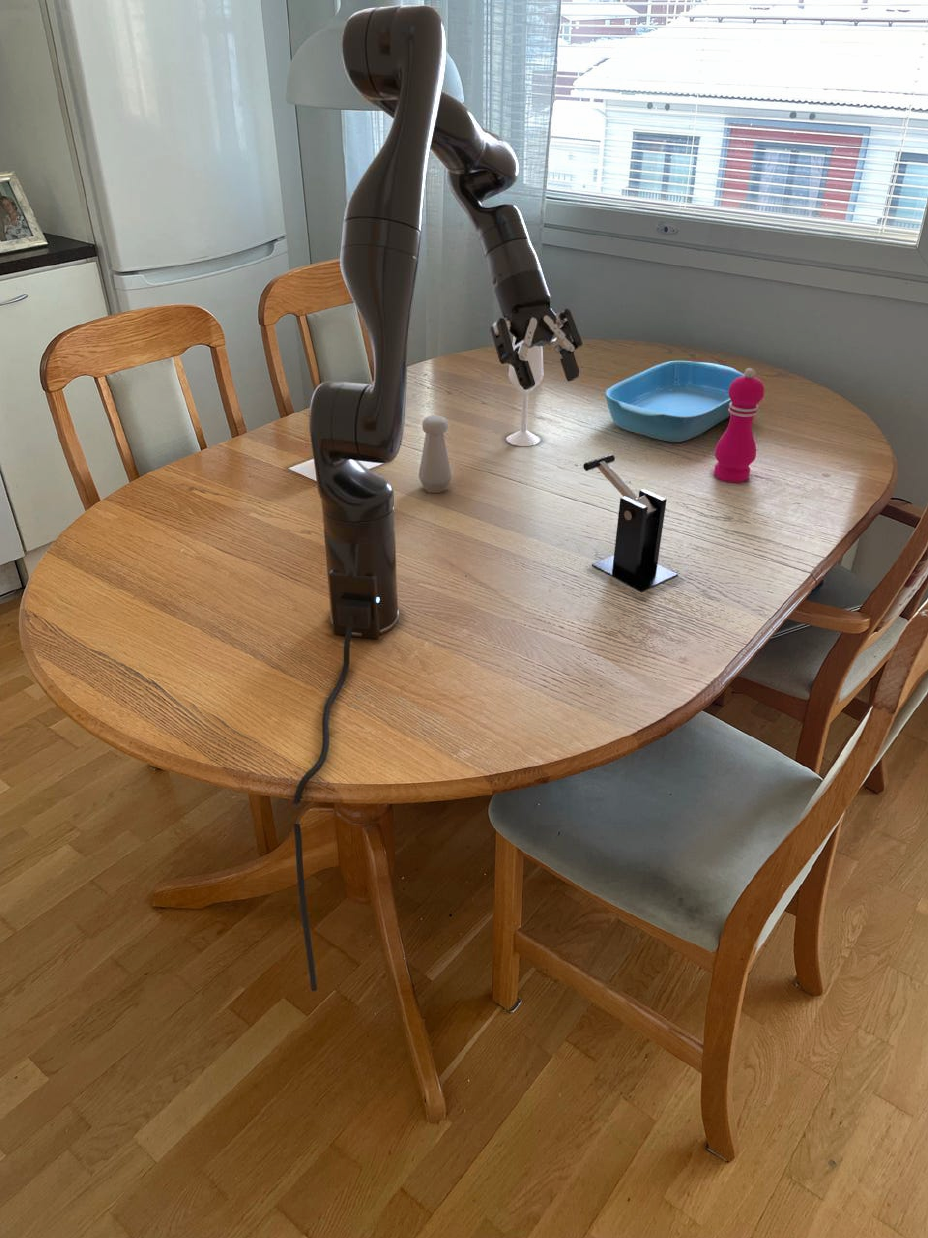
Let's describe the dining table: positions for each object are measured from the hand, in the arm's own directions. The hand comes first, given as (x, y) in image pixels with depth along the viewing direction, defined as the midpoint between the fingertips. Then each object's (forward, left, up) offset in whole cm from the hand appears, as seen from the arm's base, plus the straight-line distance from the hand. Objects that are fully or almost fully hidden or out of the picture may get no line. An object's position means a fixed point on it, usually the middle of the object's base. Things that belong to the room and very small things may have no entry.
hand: (552, 383), depth 136 cm
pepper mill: (+30, -31, -25) cm, 50 cm away
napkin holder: (+19, +41, -25) cm, 51 cm away
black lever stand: (-11, -15, -25) cm, 31 cm away
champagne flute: (+39, +9, -25) cm, 47 cm away
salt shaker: (+13, +21, -25) cm, 35 cm away
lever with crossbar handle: (-8, -12, -13) cm, 19 cm away
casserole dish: (+58, -21, -25) cm, 66 cm away
